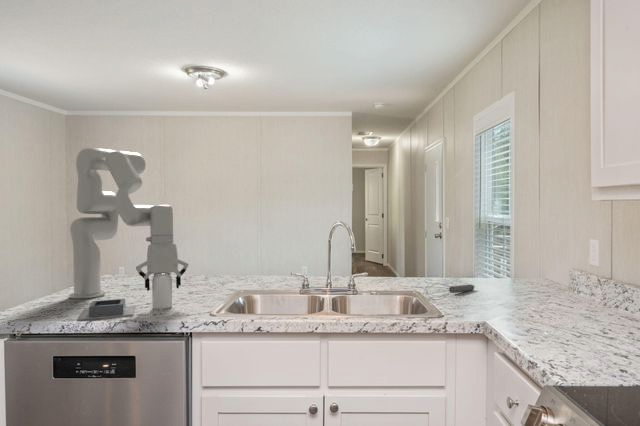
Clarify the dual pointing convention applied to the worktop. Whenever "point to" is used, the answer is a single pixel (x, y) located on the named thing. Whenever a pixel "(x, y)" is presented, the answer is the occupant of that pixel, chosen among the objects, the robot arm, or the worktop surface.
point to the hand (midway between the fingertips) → (163, 288)
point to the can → (162, 291)
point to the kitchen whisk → (454, 289)
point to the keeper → (107, 310)
